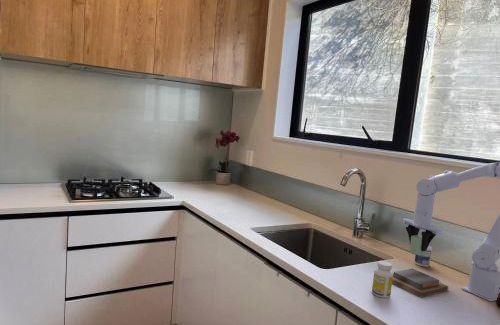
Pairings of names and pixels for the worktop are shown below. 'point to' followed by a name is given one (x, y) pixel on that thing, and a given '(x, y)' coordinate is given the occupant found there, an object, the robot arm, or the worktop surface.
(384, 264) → the supplement bottle
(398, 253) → the worktop surface
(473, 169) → the robot arm
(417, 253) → the green block
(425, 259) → the pill bottle
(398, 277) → the stepped stand
